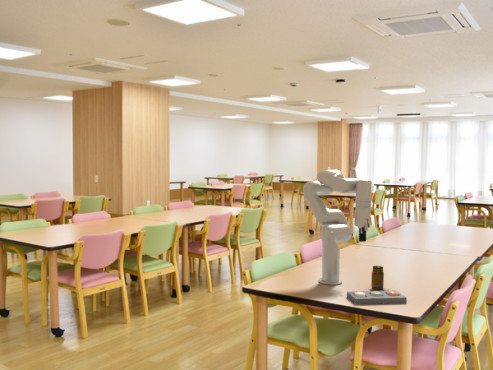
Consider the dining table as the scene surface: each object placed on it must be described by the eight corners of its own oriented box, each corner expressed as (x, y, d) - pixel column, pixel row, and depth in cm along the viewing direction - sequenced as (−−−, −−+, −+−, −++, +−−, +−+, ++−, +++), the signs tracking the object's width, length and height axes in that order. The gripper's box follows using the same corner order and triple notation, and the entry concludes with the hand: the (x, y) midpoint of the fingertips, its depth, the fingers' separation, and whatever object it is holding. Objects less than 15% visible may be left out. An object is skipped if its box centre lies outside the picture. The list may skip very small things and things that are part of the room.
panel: (346, 296, 226) (347, 291, 226) (395, 295, 229) (395, 290, 229) (355, 304, 214) (355, 298, 214) (406, 302, 217) (406, 297, 217)
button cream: (352, 296, 223) (353, 292, 223) (362, 296, 223) (362, 291, 223) (356, 299, 218) (356, 295, 218) (366, 299, 218) (366, 294, 218)
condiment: (374, 286, 245) (375, 264, 244) (389, 289, 239) (390, 266, 238) (367, 289, 240) (368, 266, 239) (383, 292, 234) (383, 269, 233)
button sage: (369, 296, 224) (369, 291, 223) (379, 296, 224) (379, 291, 224) (373, 299, 219) (373, 294, 219) (383, 299, 219) (383, 294, 219)
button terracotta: (385, 295, 225) (385, 291, 224) (395, 295, 225) (395, 290, 225) (389, 298, 220) (389, 294, 220) (399, 298, 220) (399, 293, 220)
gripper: (350, 203, 233) (349, 238, 234) (361, 205, 219) (360, 244, 220) (364, 202, 234) (364, 238, 235) (376, 205, 219) (375, 243, 220)
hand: (362, 241), depth 227 cm, fingers closed
